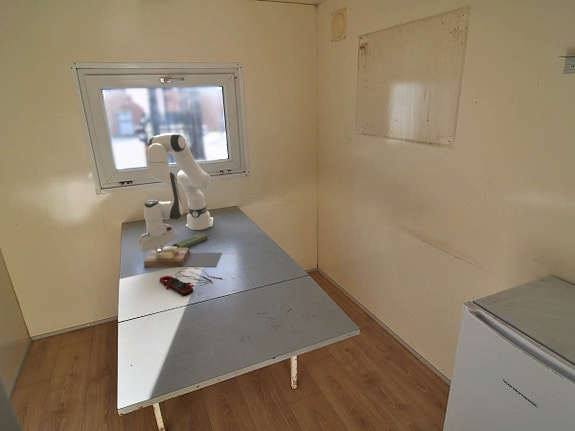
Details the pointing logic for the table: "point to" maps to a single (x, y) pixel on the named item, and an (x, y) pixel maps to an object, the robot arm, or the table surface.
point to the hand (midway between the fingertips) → (159, 252)
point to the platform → (174, 262)
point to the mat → (202, 260)
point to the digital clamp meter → (181, 283)
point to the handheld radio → (191, 240)
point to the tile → (168, 252)
